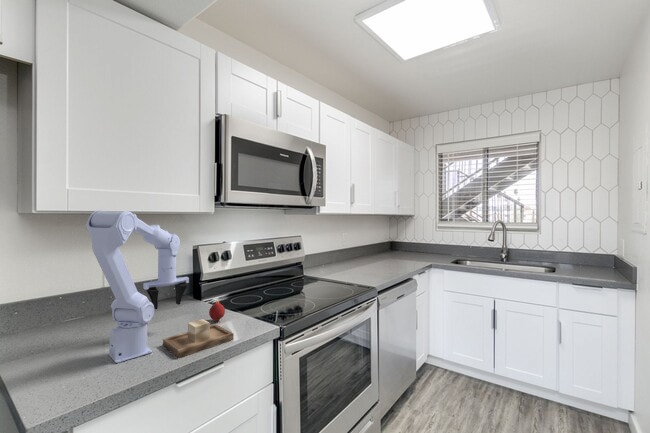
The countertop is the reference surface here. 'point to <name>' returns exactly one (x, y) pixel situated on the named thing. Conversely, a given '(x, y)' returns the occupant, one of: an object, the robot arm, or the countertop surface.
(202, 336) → the cube
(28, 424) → the countertop surface
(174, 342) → the tray
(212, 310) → the onion
